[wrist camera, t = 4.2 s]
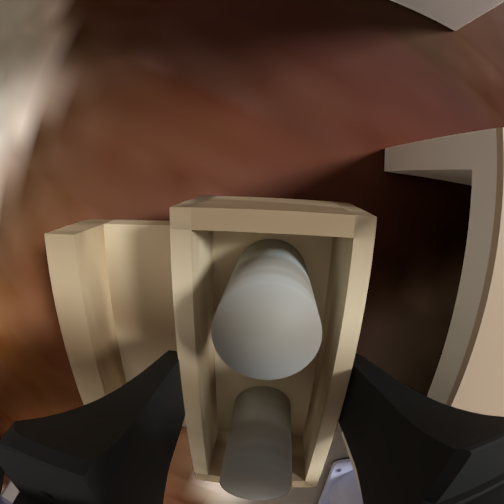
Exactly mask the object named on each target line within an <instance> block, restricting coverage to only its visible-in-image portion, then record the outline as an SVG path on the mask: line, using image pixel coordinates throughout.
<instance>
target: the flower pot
mask: <svg viewBox="0 0 504 504" xmlns="http://www.w3.org/2000/svg"><path fill="white" fill-rule="evenodd" d="M3 479H4V471H3V469H2V468H1V466H0V494H1V490H2V484H3Z"/></svg>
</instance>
